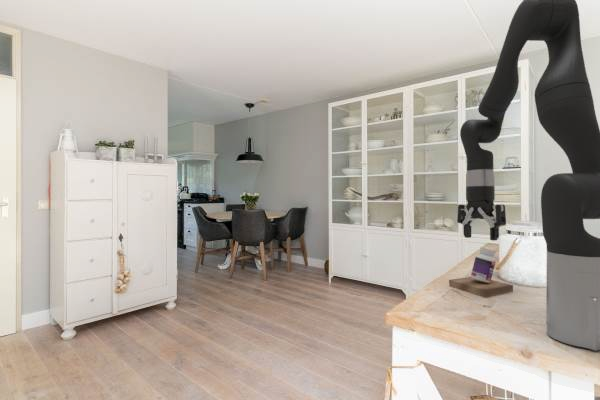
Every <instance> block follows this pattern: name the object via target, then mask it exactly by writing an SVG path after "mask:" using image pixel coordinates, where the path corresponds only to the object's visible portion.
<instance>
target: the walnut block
mask: <svg viewBox="0 0 600 400" xmlns="http://www.w3.org/2000/svg"><path fill="white" fill-rule="evenodd" d="M448 283H449V284H448V286H449V287H450V288H453V289H457V290H460V291H463V292H465V293H466V292H467V293H469V294H471V295H474V296H479V297H480V298H484V299H487V298H491V297H497V296H500V295H505V294H510V293H513V292H514V285H513V284H510V283H505V282H501V281H498V280H493V279H491V282H490V283H486V282H482V281H479V280H476V279H473V278H471V276H467V277H460V278H452V279H449V281H448Z"/></svg>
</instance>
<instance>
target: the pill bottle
mask: <svg viewBox="0 0 600 400" xmlns="http://www.w3.org/2000/svg"><path fill="white" fill-rule="evenodd" d="M495 255H496V250H492V249H489V248H485V247H480V248H479V253H478V254H476V255H475V257H474V261H473V264H472V265H473V266H472V269H471V273H470V277H471V278H473V279H476V280H479V281H482V282H486V283H490V282H491V280H492V276H493V274H494V270H495V266H496V262H497V260H496V259H495V258H494V256H495Z"/></svg>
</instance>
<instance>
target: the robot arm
mask: <svg viewBox="0 0 600 400" xmlns="http://www.w3.org/2000/svg"><path fill="white" fill-rule="evenodd" d="M578 7H579V6H578V3H577V1H576V0H522V1H521V3H520V4H519V5H518V6H517V9H516V10H515V12H514V14H513V16H512V19H511V21H510V24H509V26H508V30H507V32H506V36H505V39H504V42H503V45H502V48H501V51H500V54H499V58H498V61H497V64H496V66H495V70H494V73H493V75H492V78H491V80H490V82H489V85H488V87H487V88H486V91H485V93H484V95H483V97H482V99H481V101H480V103H479V105H478V108H477V109H478V113H479V114H480V115H481V116H483V117H485V118H486V119H467V120H466V121H464V123H463V124H462V126H461V127H460V132H459V133H460V134H459V135H460V140H461V144H462V146H463V149H464V153H465V157H466V176H465V200H466V201H467V204H462V203H461V204H458V205H457V218H456V219H457V221H456V222H457V223H458V224H461V225H462V227H463V231H462V232H463V236H464V238H466V239H467V238H472V223H473V222H474V221H475V220H476V219H477V220H478V219H480V220H484V221H486V222H487V223H488V225H489V226H490V227H489V240H490V241H498V239H499V238H500V227H503V226H506V225H507V218H506V217H507V216H506V215H507V214H506V205H505V204H494V202H495V199H496V196H495V195H496V194H495V193H496V192H495V188H496V187H495V172H494V154H493V152H492V151H490V150H488V149H484V148H483V147H481V145H480V144H491V143H493V142H495V141H496V140H497V139H498V138H499V136H500V135H501V133H502V132H501V131H502V127H503V122H504V118H505V115H506V112H507V110H508V109H509V106H510V105H511V104H512V101H514V98H515V97H516V95H517V91H518V89H519V82H520V80H519V79H520V78H519V69H518V68H519V57H520V54H521V52H522V50H523V48H524V47H525V45H526V44H527V42H528V41H531V42H532V41H535V42H537V41H538V42H539V41H540V42H541V41H542V42H545V45H546V46H547V48H546V49H547V53H548V63H547V66H546V68H545V70H544V71H543V73H542V74H541V76H540V78H539V80H538V83H537V84H536V86H535V87H536V88H535V90H534V102H535V108H536V113H537V114H536V115H537V117H538V121H539V124H540V126H541V127H542V129H543V130H545V132H546V133H547V134H548V136H550V137H551V139H552V140H553V141H554V142H556V144H557V145H559V146H558V147H560V148H561V150H562V151H563V152H564V154H565V155H566V157H567V159H568V161H569V164H570V168H571V171H572V172H567V173H561V172H560V173H556V174H553V175H551V176H549V177H548V178H547V179H546V180H545V182H544V184H543V186H542V189H541V195H540V207H541V208H540V209H541V210H540V211H541V227H542V235H543V239H544V241H545V243H546V290H545V291H546V292H545V293H546V298H545V299H546V303H545V305H546V311H545V312H546V321H545V324H546V334H547V336H549V337H551V338H552V339H554V340H556V341H559V342H561V343H564V344H567V345H570V346H575V347H580V348H584V349H589V350H592V351H595V352H596V351H600V238H599V237H597V236H594V235H592V234H591V233H590V232H588V231H587V229H585V226H584V220H600V126H599V122H598V119H597V115H596V110H595V104H594V99H593V93H592V89H591V85H590V82H589V78H588V74H587V70H586V66H585V59H584V53H583V47H582V38H581V25H580V23H581V22H580V12H579V8H578ZM493 212H494V213H495V214H494V213H493Z"/></svg>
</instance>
